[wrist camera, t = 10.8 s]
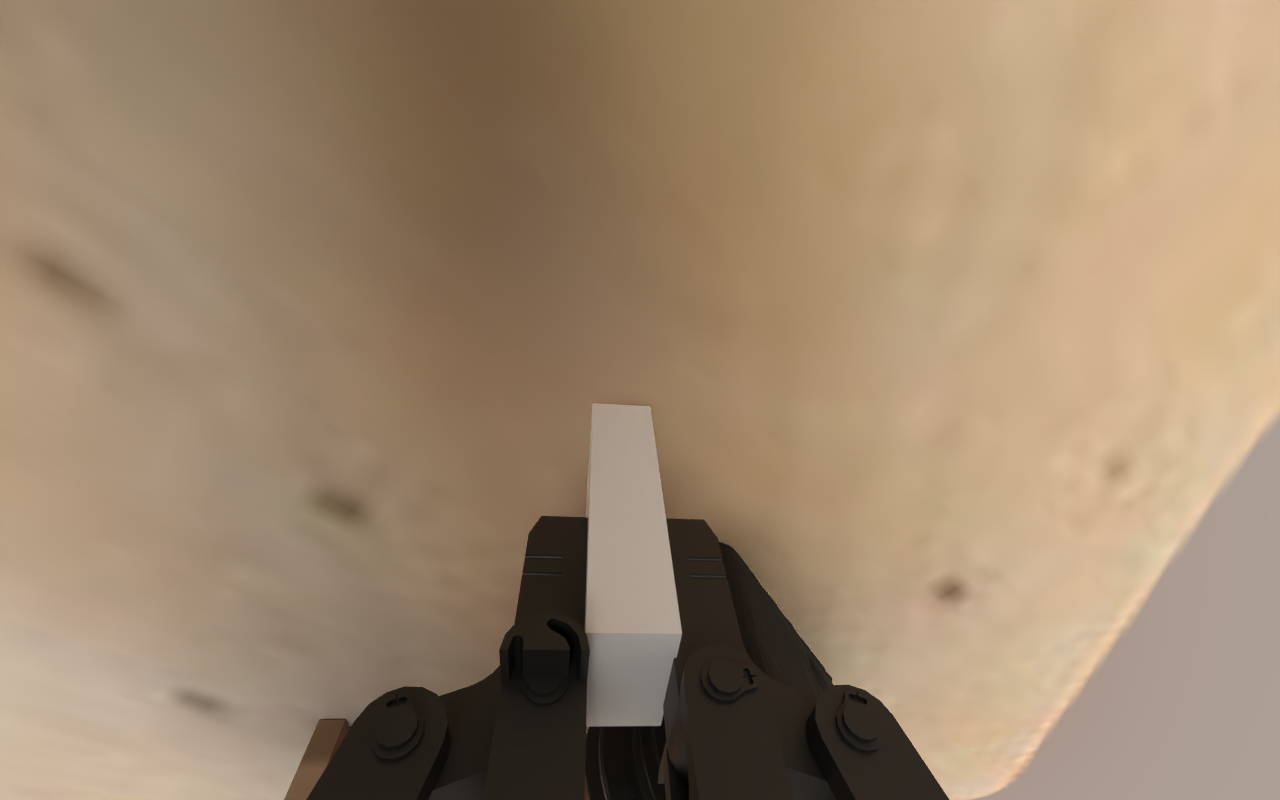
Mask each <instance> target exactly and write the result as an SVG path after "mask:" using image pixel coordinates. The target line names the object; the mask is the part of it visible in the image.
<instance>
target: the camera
mask: <svg viewBox="0 0 1280 800" xmlns="http://www.w3.org/2000/svg"><path fill="white" fill-rule="evenodd" d="M718 543H719V547H720V551H721V555H722V562H723V563H724V567H725V572H726V579H727V580H728V584H729V588H730V592H731V596H732V600H733V605H734V609H735V613H736V617H737V621H738V625H739V629H740V633H741V638H742V642H743V644H744V647H745V650H746V652H747V654H748V655H749V657H750V658H751V660H752V661H753V663H754V664H755V665H756V666H757V667H758V668H759V669H760V670H761V671H762V672H763V673H765V674H766V675H768V676H769V677H770V678H772V679H773V680H775V681H778V682H780V683H782V684H784V685H787V686H790V687H793V688H796V689H799V690H802V691H805V692H808V693H811V694H814V695H817V696H820V695H821V693H822V692H823V691H825V690H827V689H828V688H830V687H832V686H833V684H832V678H831V676H830V675H829V674H828V673H827V672H826V671H825V668H824V667H823V665H822V664H821V663H820V662H819V660H818V659H817V658H816V657H815V655H814V654H813V653H812V652H811V650H810V649H809V647H808V646H807V645H806V644H805V642H804V641H803V640H802V639H801V637H800V636H799V635H798V634H797V632H796V631H795V629H794V627H793V626H792V624H791V623H790V622H789V621H788V620H787V619H786V617H785V616H784V615H783V614H782V612H781V611H780V610H779V608H778V607H777V605H776V604H775V602H774V601H773V600H772V598H771V597H770V596H769V595H768V593H767V592H766V591H765V590H764V588H763V587H762V586H761V584H760V583H759V582H758V580H757V579H756V577H755V576H754V574H753V573H752V572H751V571H750V569H749V568H748V566H747V565H746V564H745V562H744V561H743V560H742V559H741V557H740V556H739V555H738V553H737V552H736V551H735V550H734V549H733V548H732V547H730V546H729V545H726V544H723V543H720V542H718ZM665 744H666V732H665V721H664V714H663V718H662V723H661V726H590V727H589V729H588V733H587V736H586V757H585V777H586V783H587V790H588V795H589V800H666V792H665V781H664V784H658V776H659V768H660V764H661V760H662V756H663V752H664V748H665Z"/></svg>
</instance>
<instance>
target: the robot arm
mask: <svg viewBox="0 0 1280 800" xmlns="http://www.w3.org/2000/svg"><path fill="white" fill-rule="evenodd" d="M499 651H500V666H499V667H498V668H497V669H496V670H495V671H494V672H493V673H492V674H491V675H489V676H488V677H486V678H485V679H484V680H482V681H480V682H478V683H476V684H474V685H471V686H469V687H466V688H463V689H460V690H457V691H454V692H451V693H448V694H444V695H441V696H438V695H437V694H435V693H433V692H431V691H429V690H427V689H425V688H423V687H402V688H399V689H396V690H393V691H390V692H386V693H385V694H383V695H382V696H381V697H379V698H378V699H376V700H375V701H373V702H372V703H370V704H369V705H368V706H367V707H366V708H365V710H364V711H363V712H362V713H361V714H360V716H359V717H358V718H357V719H356V720H355V722H354V723H353V725H352V726H351V728H350V730H349V731H348V733H347V735H346V736H345V738H344V739H343V741H342V743H341V744H340V746H339V747H338V749H337V751H336V752H335V754H334V756H333V757H332V759H331V760H330V762H329V764H328V765H327V767H326V768H325V770H324V772H323V773H322V775H321V777H320V778H319V780H318V781H317V783H316V785H315V786H314V788H313V789H312V791H311V793H310V794H309V796H308V798H307V799H306V800H585V757H586V727H590V726H661V723H662V718H663V714H664V721H665V732H666V744H665V748H664V752H663V756H662V760H661V764H660V768H659V776H658V784H664V781H665V792H666V800H949V799H948V797H947V796H946V794H945V793H944V791H943V790H942V788H941V787H940V785H939V784H938V782H937V781H936V779H935V778H934V776H933V775H932V773H931V772H930V770H929V769H928V767H927V766H926V764H925V763H924V761H923V760H922V758H921V757H920V755H919V754H918V752H917V751H916V749H915V748H914V746H913V745H912V743H911V742H910V740H909V739H908V737H907V736H906V734H905V733H904V731H903V730H902V728H901V727H900V725H899V724H898V722H897V721H896V719H895V718H894V716H893V715H892V714H891V713H890V712H889V710H888V709H887V708H886V707H885V706H884V705H883V704H882V702H881V701H880V700H878V699H877V698H875V697H874V696H872V695H871V694H869V693H868V692H866V691H865V690H863V689H859V688H856V687H853V686H850V685H833V686H832V687H830V688H828V689H827V690H825V691H823V692H822V693H821V695H820V696H817V695H814V694H811V693H808V692H805V691H802V690H799V689H796V688H793V687H790V686H787V685H784V684H782V683H780V682H778V681H775V680H773V679H772V678H770V677H769V676H768V675H766V674H765V673H763V672H762V671H761V670H760V669H759V668H758V667H757V666H756V665H755V664H754V663H753V661H752V660H751V658H750V657H749V655H748V654H747V652H746V650H745V647H744V644H743V642H742V638H741V633H740V629H739V625H738V621H737V617H736V613H735V609H734V605H733V600H732V596H731V592H730V588H729V584H728V580H727V579H726V572H725V567H724V563H723V562H722V555H721V551H720V547H719V543H718V538H717V537H716V535H715V534H714V533H713V531H712V530H711V529H710V527H709V526H708V525H707V523H706V522H705V521H704V520H693V519H666V515H665V508H664V501H663V494H662V486H661V479H660V472H659V465H658V458H657V451H656V443H655V436H654V429H653V422H652V415H651V408H650V406H637V405H618V404H600V403H592V417H591V433H590V448H589V463H588V478H587V501H586V517H557V516H541V517H540V519H539V520H538V522H537V523H536V524H535V526H534V527H533V529H532V530H531V531H530V533H529V535H528V542H527V548H526V555H525V561H524V567H523V576H522V580H521V587H520V593H519V599H518V606H517V612H516V619H515V625H514V626H513V627H512V628H511V629H510V630H509V631H508V632H507V633H506V634H505V637H504V639H503V642H502V644H501V647H500V650H499Z"/></svg>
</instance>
